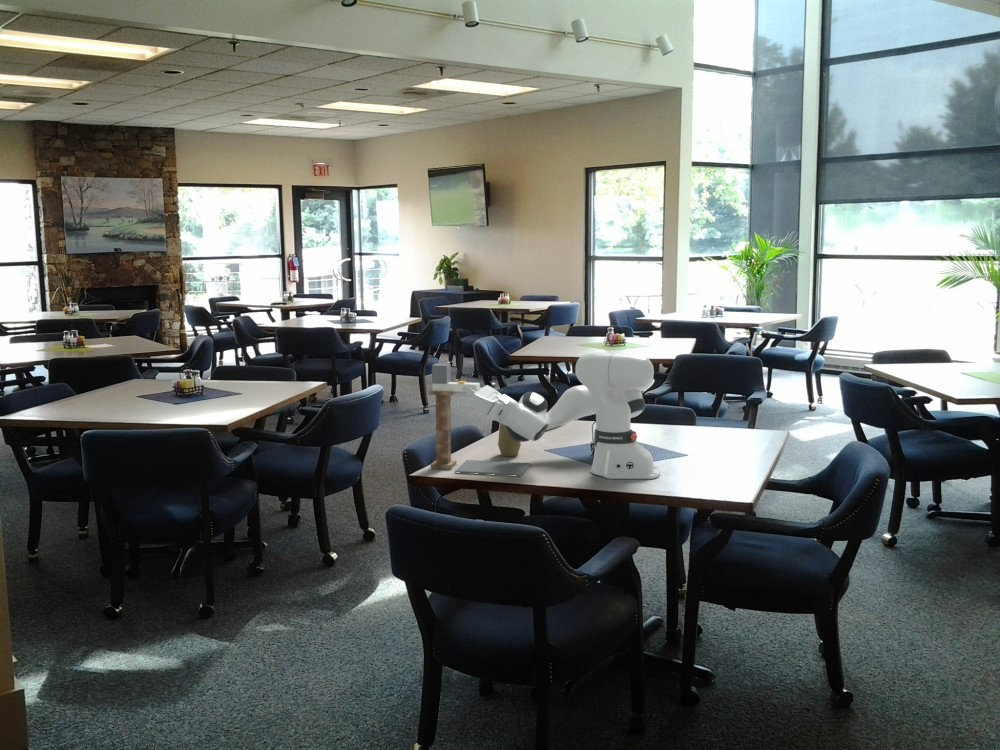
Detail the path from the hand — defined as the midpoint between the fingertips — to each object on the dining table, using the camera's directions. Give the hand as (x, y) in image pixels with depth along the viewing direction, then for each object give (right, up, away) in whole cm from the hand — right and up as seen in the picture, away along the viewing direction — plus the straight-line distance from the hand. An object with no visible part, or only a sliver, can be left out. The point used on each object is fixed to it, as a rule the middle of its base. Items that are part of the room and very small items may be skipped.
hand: (465, 385), depth 307 cm
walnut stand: (-8, -27, +5) cm, 29 cm away
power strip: (-3, -2, +1) cm, 4 cm away
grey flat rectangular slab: (+9, -28, +2) cm, 29 cm away
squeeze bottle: (+15, -25, +23) cm, 37 cm away
